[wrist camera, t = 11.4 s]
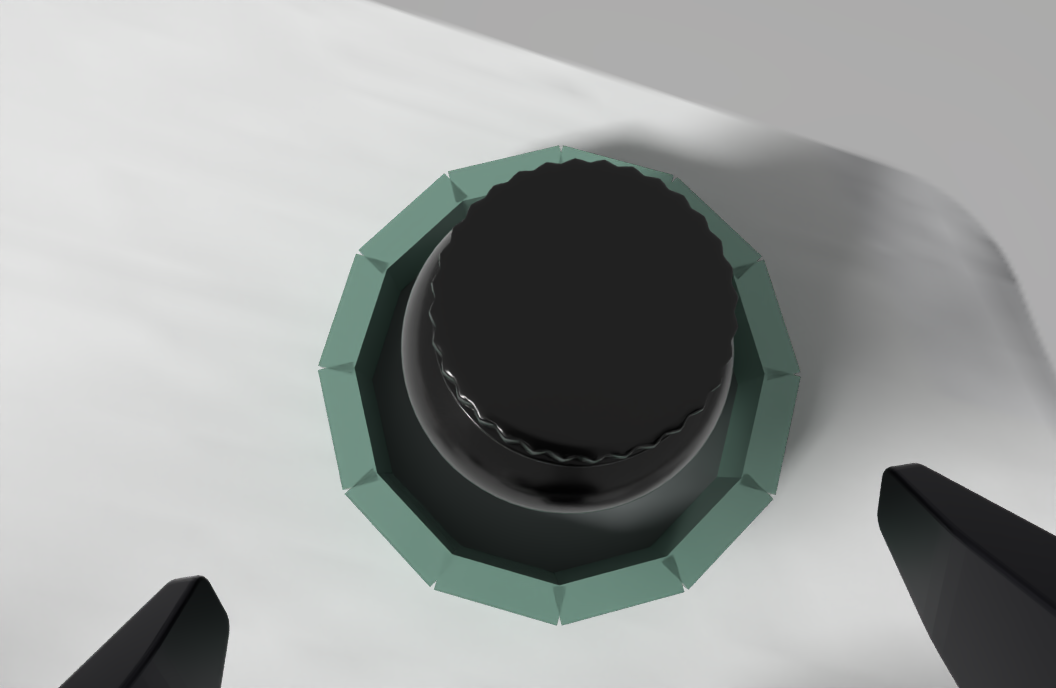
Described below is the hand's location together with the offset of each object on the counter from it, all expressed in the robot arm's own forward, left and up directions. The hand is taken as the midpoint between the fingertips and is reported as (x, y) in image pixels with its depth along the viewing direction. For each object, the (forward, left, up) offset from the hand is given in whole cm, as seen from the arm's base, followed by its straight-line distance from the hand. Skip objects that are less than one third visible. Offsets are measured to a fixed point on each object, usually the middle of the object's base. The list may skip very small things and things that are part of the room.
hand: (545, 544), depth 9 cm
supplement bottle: (+4, 0, -13) cm, 13 cm away
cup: (+4, 0, -13) cm, 14 cm away
